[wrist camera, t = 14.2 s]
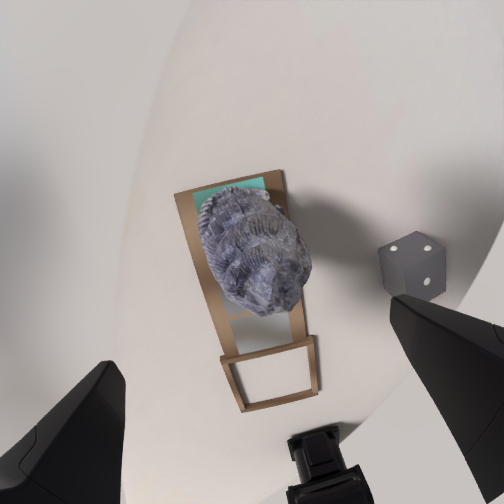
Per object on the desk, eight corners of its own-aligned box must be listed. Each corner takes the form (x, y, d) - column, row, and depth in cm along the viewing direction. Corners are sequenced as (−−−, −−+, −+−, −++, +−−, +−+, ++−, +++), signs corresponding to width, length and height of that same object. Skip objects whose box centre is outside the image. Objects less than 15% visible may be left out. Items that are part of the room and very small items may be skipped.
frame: (316, 390, 27) (318, 394, 27) (240, 408, 27) (241, 413, 27) (311, 334, 24) (313, 339, 24) (219, 356, 24) (220, 361, 24)
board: (306, 343, 25) (307, 345, 24) (227, 361, 24) (228, 363, 24) (279, 169, 19) (280, 170, 18) (174, 193, 19) (173, 194, 18)
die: (421, 268, 23) (449, 291, 20) (384, 288, 24) (409, 314, 20) (417, 227, 22) (448, 246, 18) (377, 246, 22) (405, 269, 18)
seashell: (277, 172, 18) (336, 213, 9) (284, 249, 21) (334, 341, 11) (193, 184, 18) (170, 238, 9) (207, 261, 20) (204, 364, 11)
